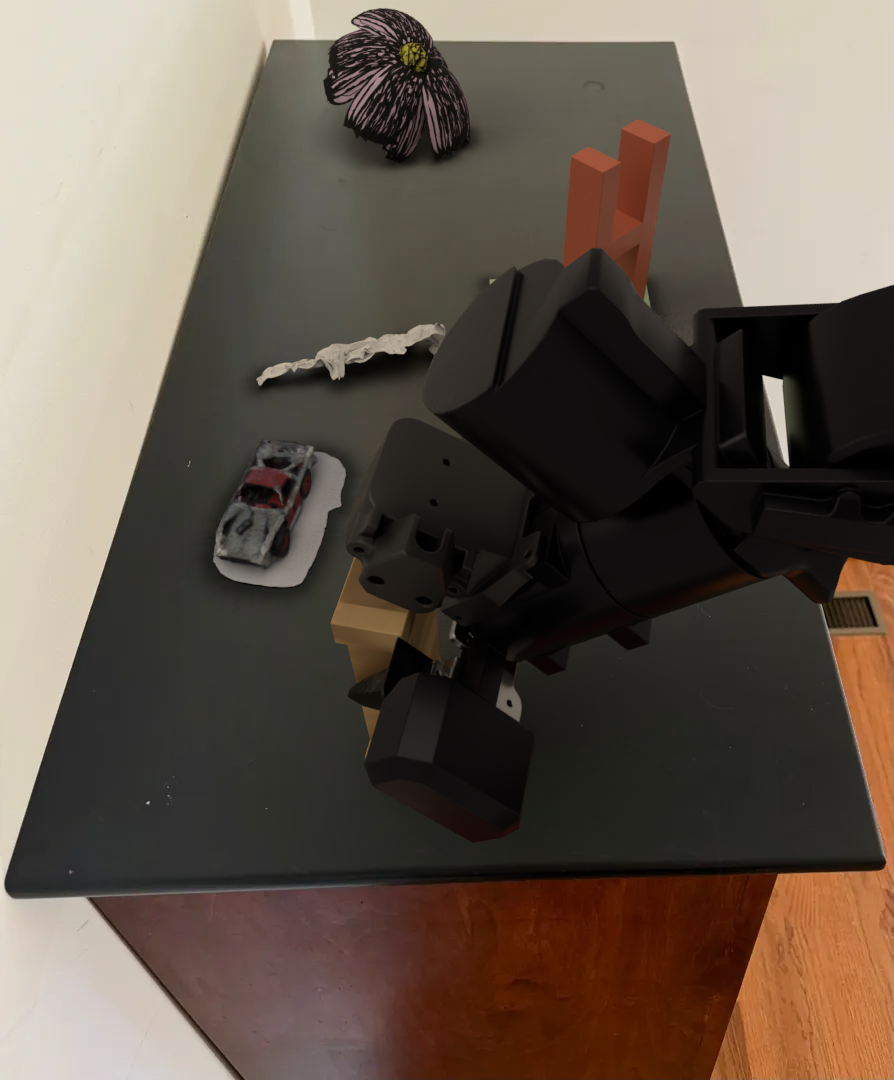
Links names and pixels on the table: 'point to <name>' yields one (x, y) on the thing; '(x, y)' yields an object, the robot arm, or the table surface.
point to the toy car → (278, 514)
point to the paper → (362, 351)
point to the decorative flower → (396, 86)
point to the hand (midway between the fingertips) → (370, 650)
